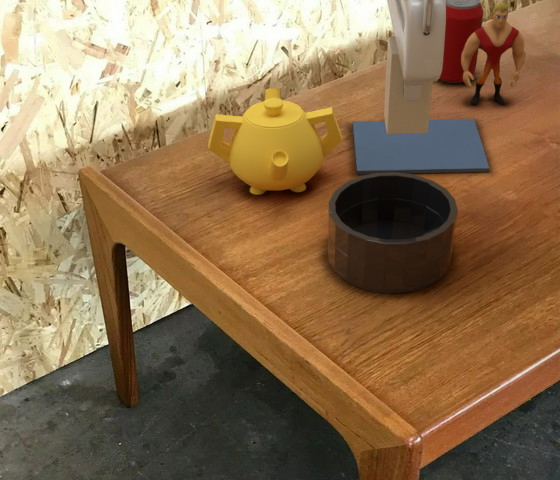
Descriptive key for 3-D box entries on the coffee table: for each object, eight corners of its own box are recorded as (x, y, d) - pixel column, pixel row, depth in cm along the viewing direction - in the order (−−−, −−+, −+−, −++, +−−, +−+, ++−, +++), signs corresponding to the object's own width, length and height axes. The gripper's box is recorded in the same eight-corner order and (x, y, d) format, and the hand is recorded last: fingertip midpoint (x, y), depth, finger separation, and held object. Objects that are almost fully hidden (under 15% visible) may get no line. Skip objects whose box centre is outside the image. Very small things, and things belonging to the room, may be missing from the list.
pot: (442, 219, 101) (448, 171, 96) (457, 292, 90) (465, 242, 85) (327, 221, 101) (327, 173, 96) (329, 294, 91) (330, 244, 86)
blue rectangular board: (473, 122, 118) (474, 118, 118) (489, 172, 108) (489, 168, 108) (352, 125, 119) (352, 121, 119) (356, 174, 109) (357, 170, 109)
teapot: (350, 215, 102) (352, 135, 94) (211, 223, 102) (202, 144, 94) (333, 138, 116) (334, 63, 108) (212, 145, 116) (204, 71, 108)
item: (423, 113, 91) (430, 34, 85) (427, 133, 88) (435, 52, 81) (383, 115, 91) (388, 36, 85) (387, 134, 88) (391, 54, 82)
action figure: (457, 107, 122) (470, 6, 111) (454, 96, 124) (467, -4, 114) (519, 106, 121) (538, 5, 110) (516, 95, 124) (534, -5, 113)
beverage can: (482, 75, 129) (494, -2, 121) (458, 89, 126) (468, 11, 117) (448, 63, 133) (456, -12, 124) (423, 77, 129) (431, 1, 121)
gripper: (468, -16, 69) (450, 131, 79) (438, -86, 84) (427, 45, 93) (395, -13, 69) (387, 133, 79) (378, -83, 84) (373, 47, 94)
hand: (408, 85), depth 86 cm, fingers closed on item, 4 cm apart
